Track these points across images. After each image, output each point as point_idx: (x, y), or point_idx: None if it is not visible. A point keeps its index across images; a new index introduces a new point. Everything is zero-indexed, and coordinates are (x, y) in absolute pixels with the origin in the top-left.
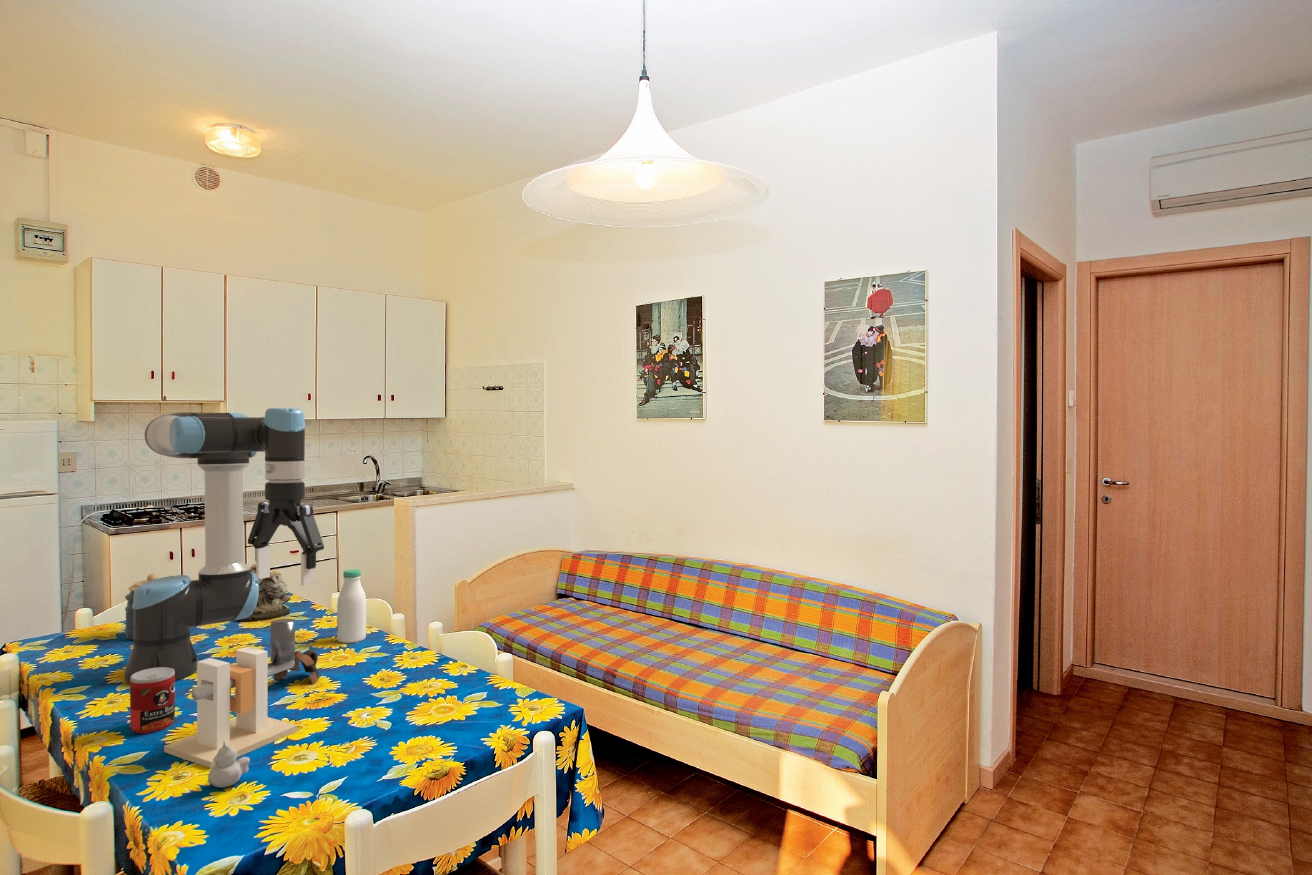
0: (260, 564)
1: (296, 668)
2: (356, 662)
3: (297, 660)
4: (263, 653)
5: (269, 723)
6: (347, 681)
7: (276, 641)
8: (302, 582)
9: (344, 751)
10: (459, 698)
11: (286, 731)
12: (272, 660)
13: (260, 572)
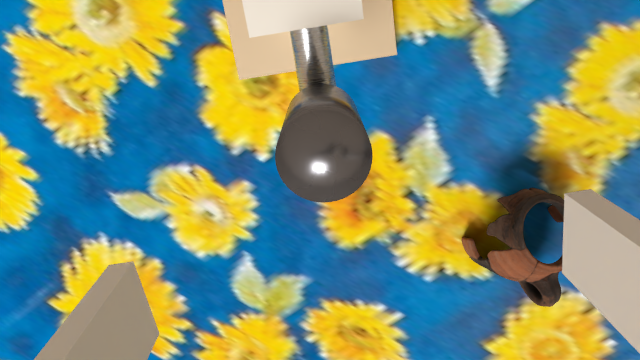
0: (634, 261)
1: (493, 227)
2: (494, 355)
3: (511, 244)
4: (246, 19)
5: None
6: (411, 286)
7: (301, 102)
8: (109, 274)
9: (69, 83)
10: None
11: (233, 50)
12: (318, 84)
13: (592, 228)
